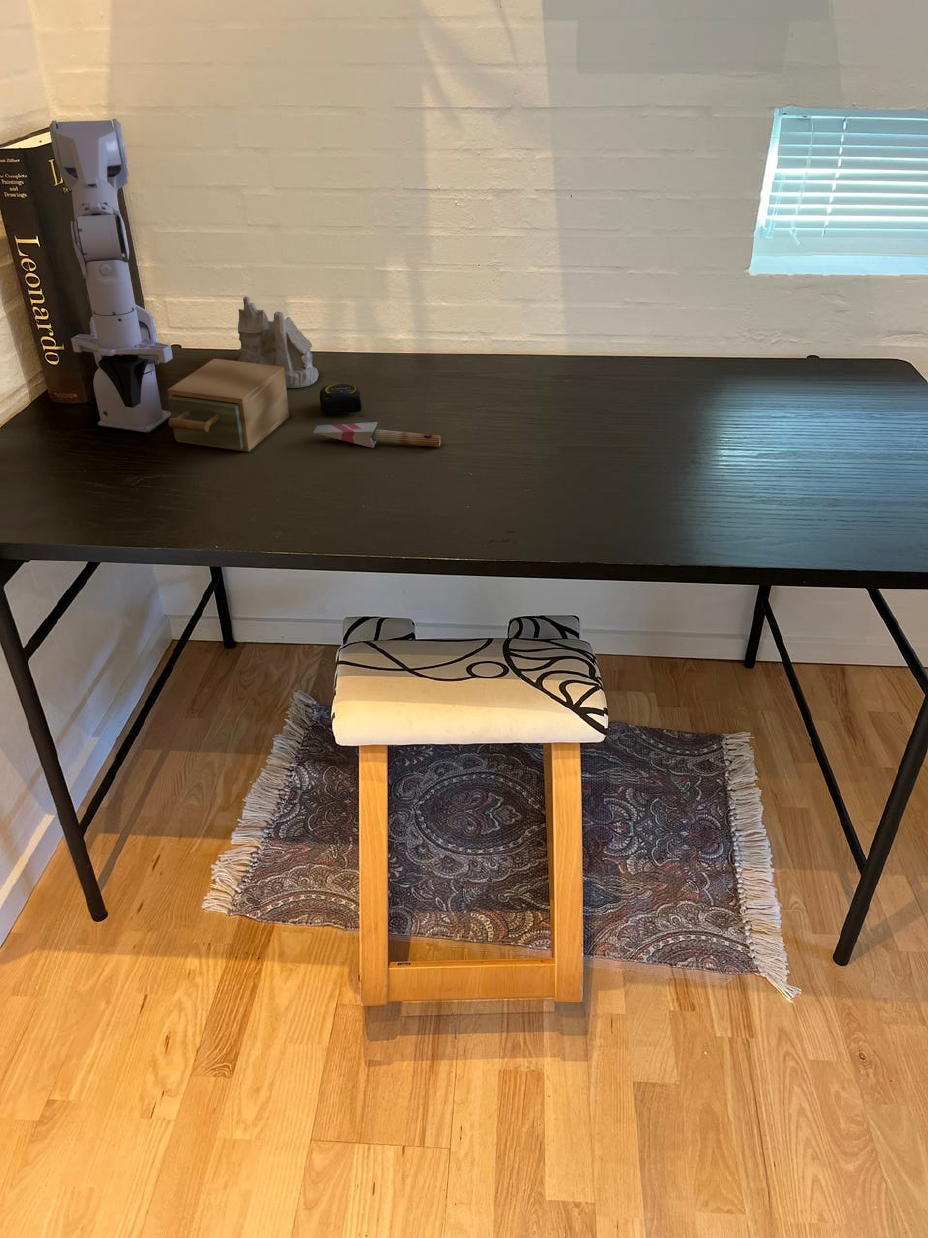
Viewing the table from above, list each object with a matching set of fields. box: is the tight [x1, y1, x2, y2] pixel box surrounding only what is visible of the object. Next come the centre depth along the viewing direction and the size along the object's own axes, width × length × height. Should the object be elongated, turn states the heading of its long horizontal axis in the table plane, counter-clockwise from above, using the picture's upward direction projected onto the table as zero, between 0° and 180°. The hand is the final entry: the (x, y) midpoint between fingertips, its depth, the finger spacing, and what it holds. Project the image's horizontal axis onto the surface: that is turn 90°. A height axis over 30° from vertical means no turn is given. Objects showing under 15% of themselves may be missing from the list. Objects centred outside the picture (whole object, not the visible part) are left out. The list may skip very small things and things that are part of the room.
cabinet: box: [167, 358, 290, 453], centre depth 152 cm, size 15×13×9 cm
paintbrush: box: [312, 421, 442, 449], centre depth 149 cm, size 4×3×20 cm
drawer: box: [167, 396, 244, 449], centre depth 148 cm, size 18×11×7 cm, turn 163°
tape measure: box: [319, 382, 363, 415], centre depth 160 cm, size 7×7×4 cm
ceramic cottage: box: [237, 295, 319, 389], centre depth 172 cm, size 16×16×15 cm
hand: (132, 404), depth 137 cm, fingers closed
